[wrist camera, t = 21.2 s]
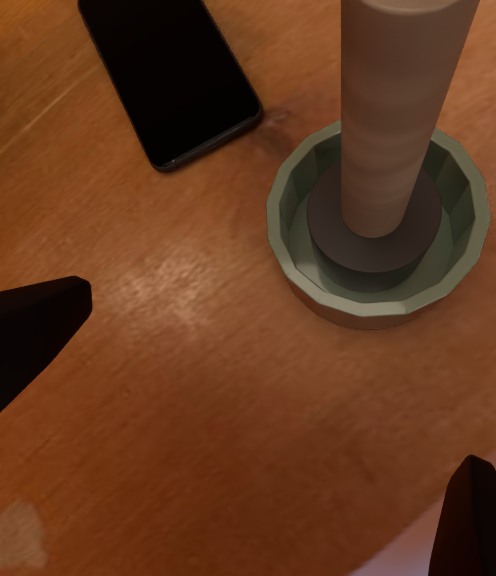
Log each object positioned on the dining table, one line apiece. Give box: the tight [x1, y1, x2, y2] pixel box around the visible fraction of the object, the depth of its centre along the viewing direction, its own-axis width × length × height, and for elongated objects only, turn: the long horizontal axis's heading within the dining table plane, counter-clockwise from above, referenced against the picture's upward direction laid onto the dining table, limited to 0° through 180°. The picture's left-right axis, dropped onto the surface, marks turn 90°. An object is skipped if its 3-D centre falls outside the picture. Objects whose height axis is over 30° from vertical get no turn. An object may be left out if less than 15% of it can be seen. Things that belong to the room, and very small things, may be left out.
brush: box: [306, 0, 480, 293], centre depth 16 cm, size 6×6×16 cm
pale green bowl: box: [266, 119, 491, 330], centre depth 22 cm, size 9×9×4 cm
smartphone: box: [78, 0, 263, 172], centre depth 28 cm, size 7×1×15 cm
